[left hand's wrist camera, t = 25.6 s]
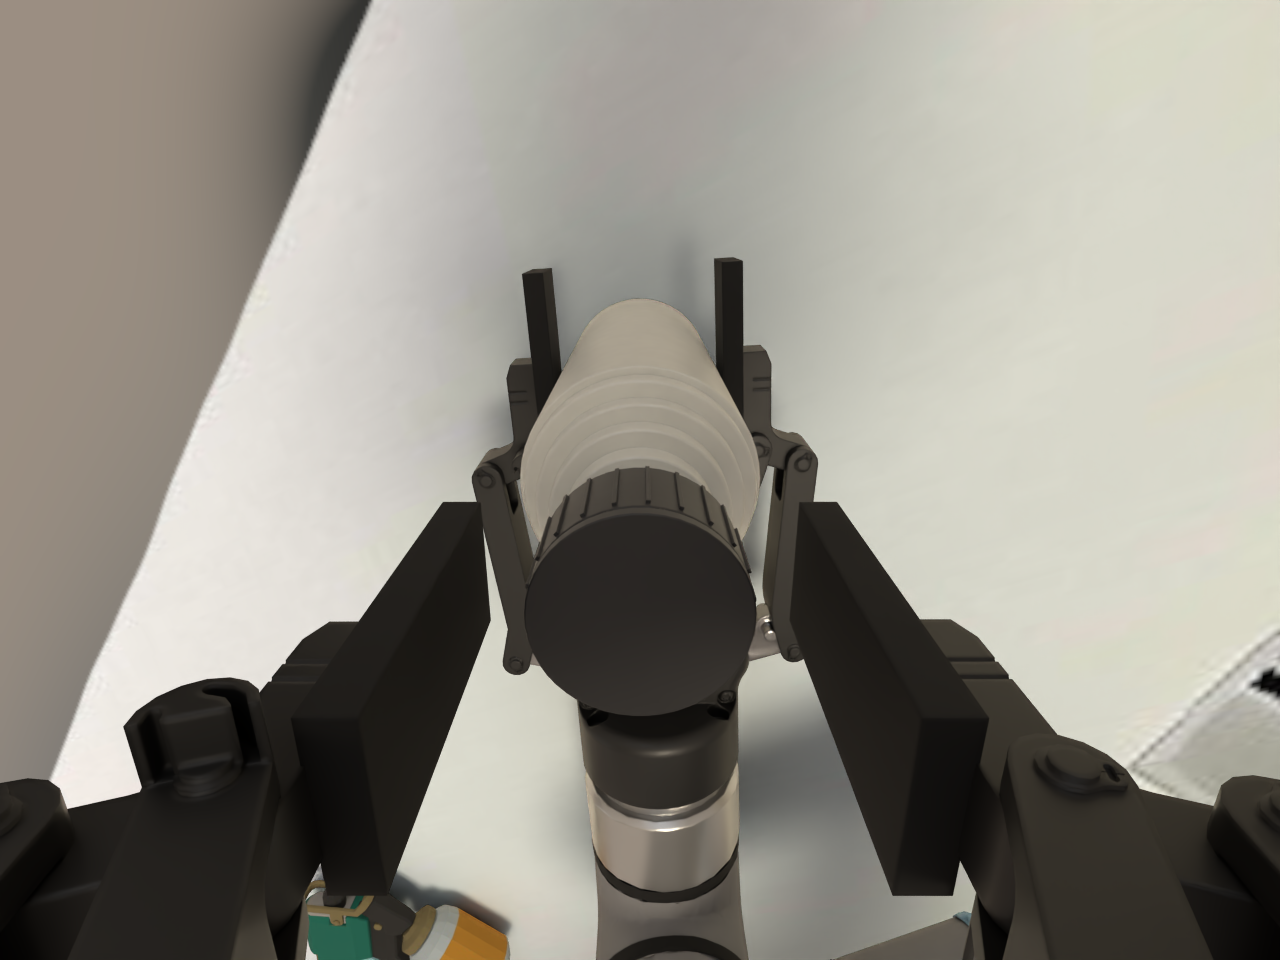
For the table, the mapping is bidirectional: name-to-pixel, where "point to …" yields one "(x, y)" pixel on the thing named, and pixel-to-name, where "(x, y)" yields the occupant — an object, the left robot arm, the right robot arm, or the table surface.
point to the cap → (640, 594)
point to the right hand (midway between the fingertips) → (632, 266)
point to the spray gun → (396, 930)
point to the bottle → (640, 415)
